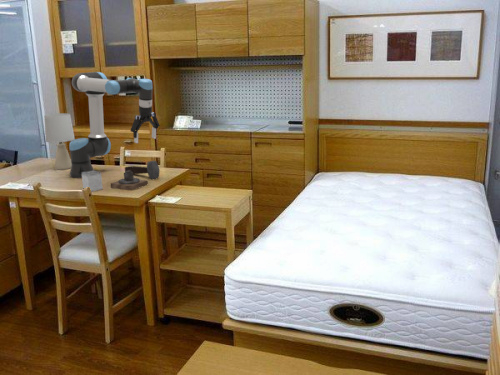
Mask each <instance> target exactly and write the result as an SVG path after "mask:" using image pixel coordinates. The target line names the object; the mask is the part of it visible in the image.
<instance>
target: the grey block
mask: <svg viewBox="0 0 500 375" xmlns="http://www.w3.org/2000/svg"><path fill="white" fill-rule="evenodd" d="M81 173H82V178H81V179H82V180H81V181H82V189H83V188H86V187H90V189H91V192H95V191H100V190H103V187H104V186H103V179H102V172H101V171H99V170H95V169H93V171H87V172H81Z"/></svg>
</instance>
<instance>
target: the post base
mask: <svg viewBox="0 0 500 375" xmlns="http://www.w3.org/2000/svg"><path fill="white" fill-rule="evenodd" d="M134 176H135V175H134V174H133V172H132V171H130V170H128V171H125V170H124V172H123V178H121V179H119V180H117V181H113V182H111V183H110V188H113V189H120V190H121V189H122V190H128V191H135V190H137V189H139V187H140V188H142V186H143V187H145V186H148V185H149V180H147V179H140V178H138V177H134ZM147 184H148V185H147ZM136 188H137V189H136Z"/></svg>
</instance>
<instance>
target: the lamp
mask: <svg viewBox="0 0 500 375" xmlns="http://www.w3.org/2000/svg"><path fill="white" fill-rule="evenodd" d="M43 116H44V130H45V131H44V132H45V134H44V135H45V142H46V143H57V144H56V152H55V159H54V167H55V170H58V171H59V170H60V171H62V170H71V165H72V163H71V155H70V152H69V151H68V149H67V147H66V145H67V144H66V142H71V141H72V140H75V137H76V136H75V132H74V128H73V123H72V122H73V121H72V116H71V114H70V113H67V112H66V113H65V112H64V113H50V114H49V113H48V114H45V115H43Z"/></svg>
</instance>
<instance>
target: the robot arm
mask: <svg viewBox="0 0 500 375" xmlns="http://www.w3.org/2000/svg"><path fill="white" fill-rule="evenodd" d="M71 85H72V87H73V89H74V90H75V91H77V92H81V93H85V95H86V96H87V97H88V113H89V134H88V136H87V137H88V138H87V137H86V138H85V137H80V138H76V139H75V140H72V141H69V143H68V144H69V148H68V149H69V156H70V159H71V163H72V165H71V168H70V171H69V177H70V178H73V179H82V173H81V172H87V171H93V170H94V168H93V165H92V164H91V163H92V162H91V158H96V157H100V156H101V157H102V156H105V155H107V154H109V152H110V151H111V147H112V144H111V141H110V139H109V138H108V137H107V134H105V126H104V125H105V124H104V122H105V121H104V105H103V104H104V102H103V96H104V95H105V94H106V93H107V94H109V95H121V94H133V93H134V94H137V95H138V112H139V115H138V114H137V115H135V116H134V119H133V122H132V124H131V128H130V132H131V133H132V134H133V136H132V137H133V139H134V140H133V142H134V143H135V144H139V130H140V129H141V126H142V125H143V124H144V123H146V122H147V123H148V122H149V124H151V126H152V127H151V139H154V140H156V138H157V132H158V131H157V130H158V129H159V127H160V126H161V125H160V123H159V120H158V118H157V115H156V112H153V81H152V80H151V79H149V78H141V79H135V78H133V77H127V78H126V79H118V80H116V79H114V80H113V79H108V77H107V76H106V74H105V73H103V72H102V71H101V72H100V71H90V72H79V73H76V74H75V75H74V76H72V80H71Z"/></svg>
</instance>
